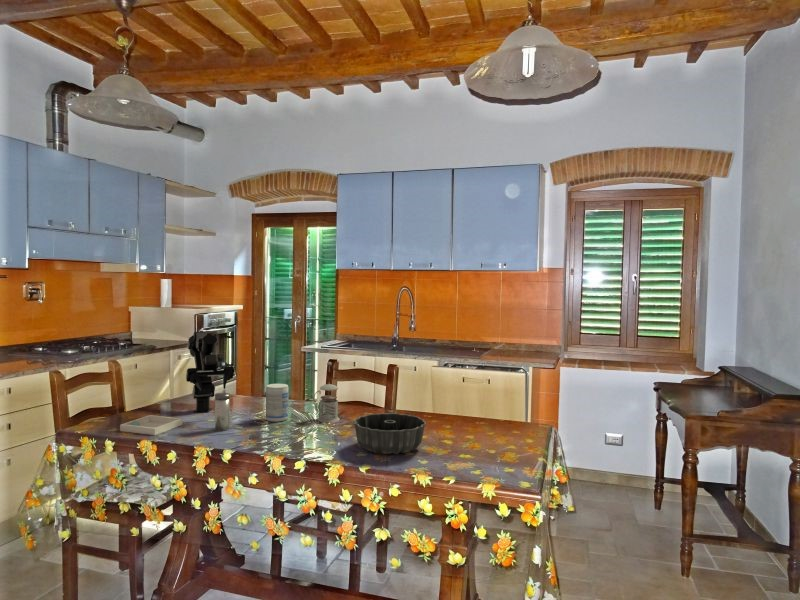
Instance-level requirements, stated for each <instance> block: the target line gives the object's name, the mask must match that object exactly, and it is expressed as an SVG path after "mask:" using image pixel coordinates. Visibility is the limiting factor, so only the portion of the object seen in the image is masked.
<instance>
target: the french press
mask: <svg viewBox="0 0 800 600" xmlns="http://www.w3.org/2000/svg"><path fill="white" fill-rule="evenodd" d="M326 365H328V371H330V367H331V366H332V362H331V361H328V362H327V363H326ZM319 389H320V390H317V391H316V392H314V395H313V397H312V403H313V405H314V406H315V407H316V408H317V409H318V418H316V419H317V421H318V422H321V423H336V422H339V421H340V420H341V419H340V417H339V416H338V412H339V411H338V408H339V407H338V406H339V405H338V402H339V400H338V399H337V398H338V396H337V395H330V394H328V395H322V396H320V400H319V405H317V404H316V402H315V396H316V394H318V393H319V395H321V391H328V392H332V391H337V390H339V387H338V385H334V384H330V383H326V384H323V385H321V386H320V387H319Z"/></svg>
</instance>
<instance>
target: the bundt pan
mask: <svg viewBox="0 0 800 600" xmlns="http://www.w3.org/2000/svg"><path fill="white" fill-rule="evenodd" d="M426 425H427V423H426V421H425V419H423V418H420V417H419V416H416V415H411V414H410V415H409V414H405V413H404V414H401V413H395V412H391V413H390V412H389V413H383V412H382V413H372V414H371V413H370V414H365V415H360V416H358V418H355V419H353V426H354V427H355V435H356V441H357V443H358V445H359V447H361V448H363V449H365V451H369V452H373V453H375V454H377V455H378V454H380V453H382V454H383V455H390V454H394V455H398V454H399V453H401V454H406V453H409V452H413V451H415V450H416V449H418V447H419V446H420V445H421V443H422V441H423V436H424V431H425V426H426Z"/></svg>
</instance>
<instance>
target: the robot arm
mask: <svg viewBox="0 0 800 600" xmlns="http://www.w3.org/2000/svg"><path fill="white" fill-rule="evenodd" d="M217 346H218V338H217V337H216V336H215V335H213V334H212V333H206V332H205V331H193V334H192V335H191V336H190V337H189V338H188V342H187V350H189V354H190V356H192V357H193V358H194V359H193V360H194V364H195V365H194V366H195V367H188V368H187V369H186V374H185V381H186V382H188V383H191V384H193V388H192V398H193V399H195V401H196V403H195V406H196V407H195V409H194V410H193V411H192V412H193V413H209V412H211V411H212V410H213V407H211V405H210V404H211V403H210V402H211V401H210V400H211V399H210V398H215V393H216V391H215V390H216V386H215V384H214V383H213V380H212V377H215V376H217V377H219V376H222V386H223V389H224V390H225V389H226V386H227V382H228V381H230V380H233V378H234V374H235V367H234V366H233V365H226V366H225V365H224V366H223V369H219V363H222V362H223V360H224V358H223V353H217V354H215V352H216V350H217Z"/></svg>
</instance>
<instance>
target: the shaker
mask: <svg viewBox="0 0 800 600" xmlns="http://www.w3.org/2000/svg"><path fill="white" fill-rule="evenodd" d="M230 400H231V393H228V392H218V393H214V431H216V432H225V431H229V430H230V413H231V412H230V411H231V410H230V409H231V408H230V406H231V405H230V404H231V403H230Z"/></svg>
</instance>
